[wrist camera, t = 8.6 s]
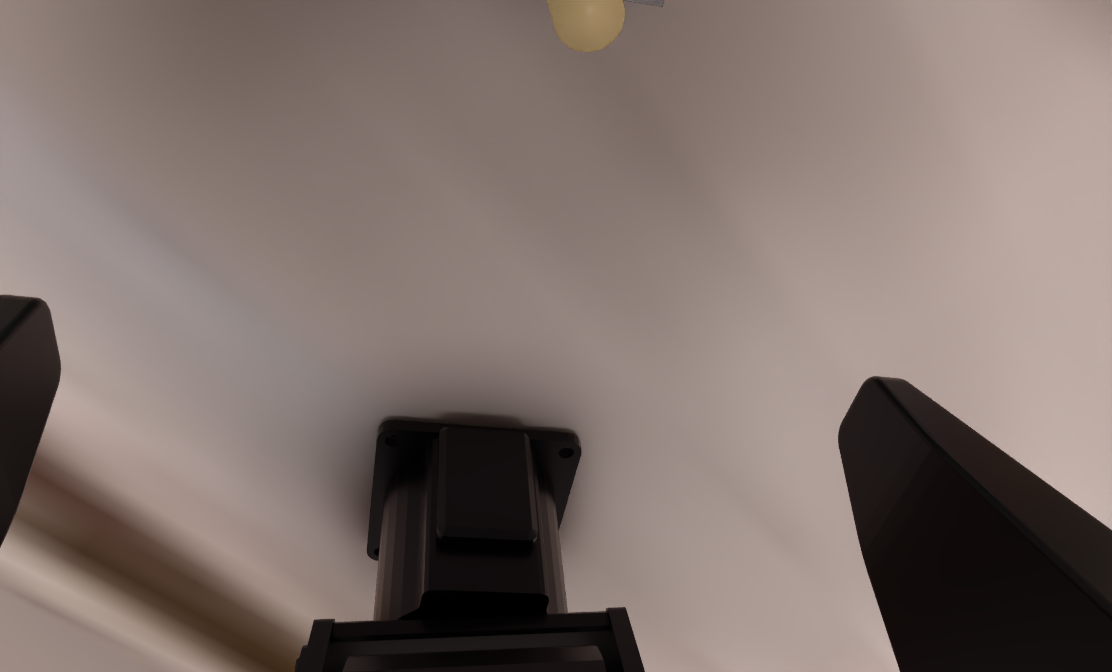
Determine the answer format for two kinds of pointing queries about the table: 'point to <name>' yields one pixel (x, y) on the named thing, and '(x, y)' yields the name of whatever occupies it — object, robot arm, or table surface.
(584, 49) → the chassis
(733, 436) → the table surface
